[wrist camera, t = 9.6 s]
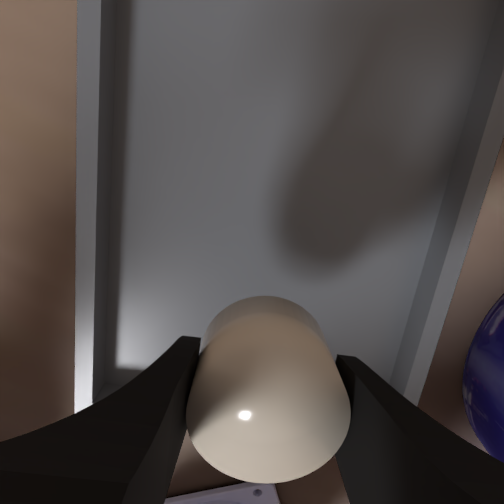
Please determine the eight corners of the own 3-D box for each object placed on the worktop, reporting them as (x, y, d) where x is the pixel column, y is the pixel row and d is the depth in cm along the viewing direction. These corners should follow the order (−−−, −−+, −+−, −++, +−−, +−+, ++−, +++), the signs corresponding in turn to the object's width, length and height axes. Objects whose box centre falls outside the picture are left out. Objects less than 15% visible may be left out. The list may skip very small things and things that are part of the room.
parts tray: (387, 422, 20) (402, 452, 18) (92, 388, 19) (74, 415, 17) (548, -119, 13) (600, -165, 11) (105, -204, 12) (79, -268, 10)
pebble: (313, 412, 13) (332, 490, 10) (195, 399, 13) (179, 474, 10) (337, 304, 12) (367, 356, 9) (208, 287, 12) (194, 335, 9)
